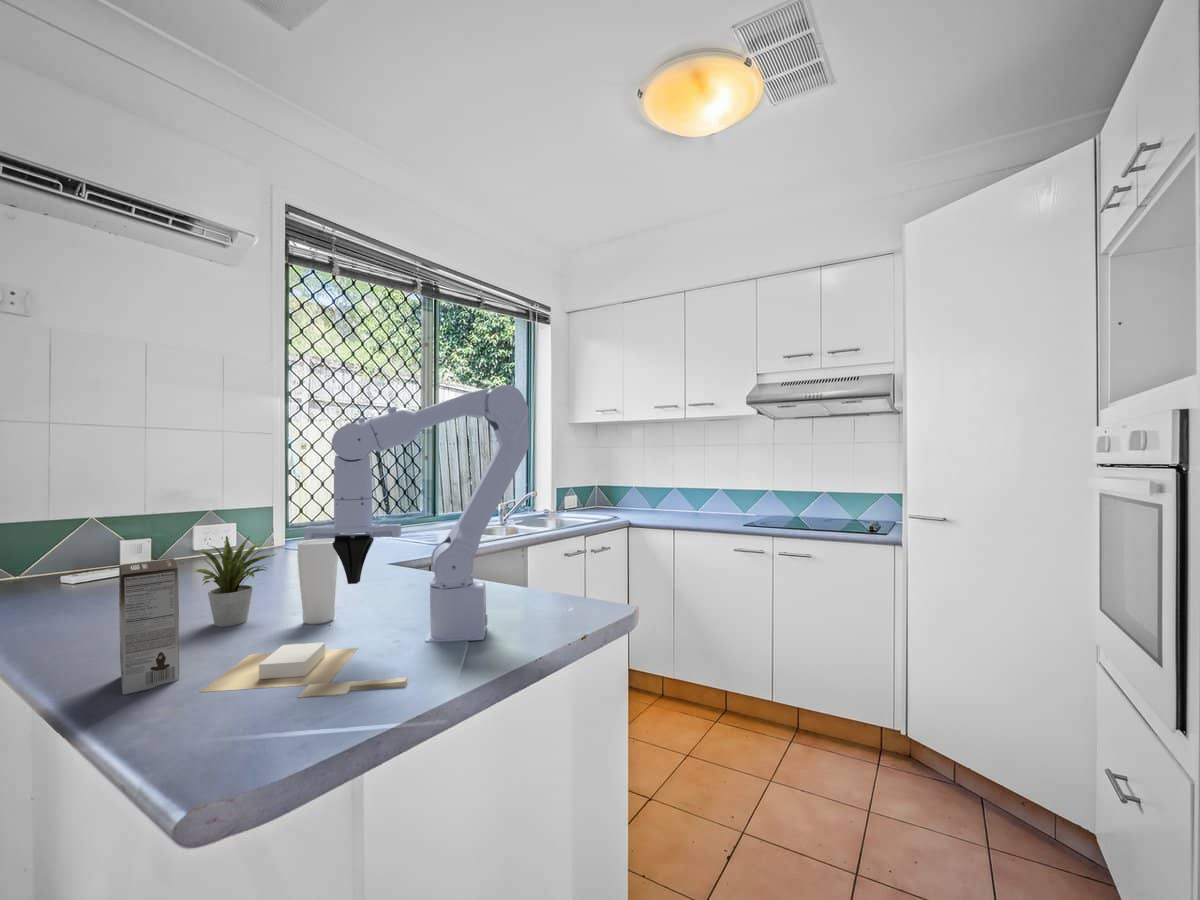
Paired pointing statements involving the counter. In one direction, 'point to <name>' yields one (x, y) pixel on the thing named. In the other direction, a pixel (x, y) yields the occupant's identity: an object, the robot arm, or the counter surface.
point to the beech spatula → (350, 687)
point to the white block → (292, 660)
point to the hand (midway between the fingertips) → (353, 582)
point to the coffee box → (148, 624)
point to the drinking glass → (317, 579)
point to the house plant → (231, 584)
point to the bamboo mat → (248, 678)
